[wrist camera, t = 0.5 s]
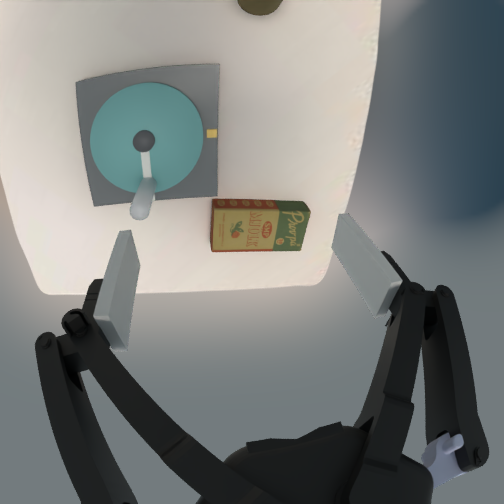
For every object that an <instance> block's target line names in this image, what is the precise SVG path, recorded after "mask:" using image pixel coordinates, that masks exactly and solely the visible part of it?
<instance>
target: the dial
mask: <svg viewBox="0 0 504 504" xmlns="http://www.w3.org/2000/svg"><path fill="white" fill-rule="evenodd" d="M202 145H203V126H202V121H201V118H200V115H199V112H198V111H197V109H196V107H195V105H194V104H193V103H192V101H191V100H190V99H189V98H188V97H187V96H186V95H185V94H183V93H182V92H181V91H179V90H177V89H176V88H174V87H171V86H169V85H166V84H161V83H153V82H148V83H140V84H135V85H132V86H129V87H126V88H124V89H122V90H120V91H118V92H117V93H115V94H114V95H113V96H111V97H110V98H109V99H108V100H107V101H106V102H105V103H104V104H103V105H102V107H101V108H100V110H99V111H98V113H97V115H96V117H95V119H94V121H93V125H92V128H91V134H90V147H91V153H92V156H93V159H94V162H95V164H96V166H97V168H98V169H99V171H100V172H101V173H102V174H103V176H104V177H105V178H106V179H107V180H109V181H110V182H111V183H112V184H114V185H115V186H117V187H119V188H121V189H123V190H126V191H129V192H134V193H136V194H135V197H134V199H133V202H132V204H131V207H130V215H131V216H132V217H133V218H134V219H136V220H144V219H146V218H147V217H148V215H149V211H150V207H151V204H152V200H153V196H154V193H156V192H160V191H164V190H166V189H168V188H171V187H173V186H174V185H176V184H178V183H179V182H180V181H182V180H183V179H184V178H185V177H186V176H187V175H188V174H189V173H190V172H191V171H192V169H193V168H194V166H195V165H196V163H197V161H198V159H199V156H200V153H201V151H202Z"/></svg>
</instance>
